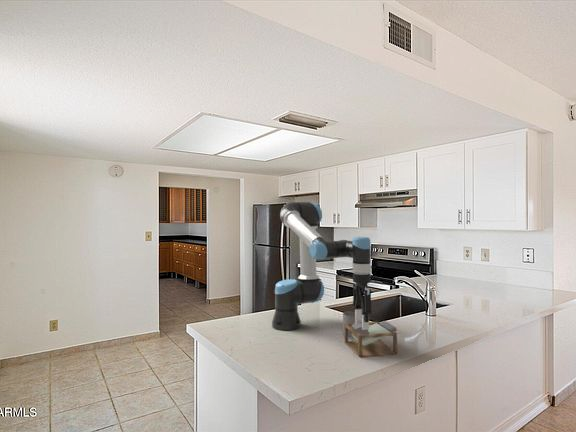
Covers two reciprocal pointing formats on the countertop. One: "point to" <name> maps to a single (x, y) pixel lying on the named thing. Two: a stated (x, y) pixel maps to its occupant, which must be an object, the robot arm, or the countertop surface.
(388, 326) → the trapdoor
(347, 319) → the cup
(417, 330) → the countertop surface
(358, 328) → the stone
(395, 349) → the frame
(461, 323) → the countertop surface
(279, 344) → the countertop surface
